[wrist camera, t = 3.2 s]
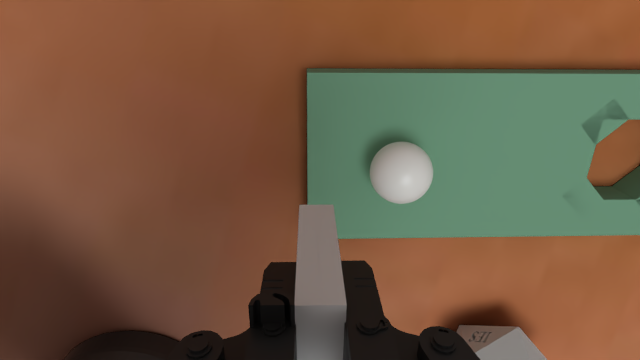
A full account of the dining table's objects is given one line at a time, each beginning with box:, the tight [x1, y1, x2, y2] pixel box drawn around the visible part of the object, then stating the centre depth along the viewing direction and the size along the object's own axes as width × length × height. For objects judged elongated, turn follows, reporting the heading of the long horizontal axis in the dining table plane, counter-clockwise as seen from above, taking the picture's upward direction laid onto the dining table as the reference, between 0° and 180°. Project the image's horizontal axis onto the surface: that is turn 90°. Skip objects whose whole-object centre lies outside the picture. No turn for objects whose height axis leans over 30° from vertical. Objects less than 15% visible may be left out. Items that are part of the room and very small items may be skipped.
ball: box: [370, 142, 433, 204], centre depth 25 cm, size 4×4×4 cm
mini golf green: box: [307, 68, 640, 239], centre depth 23 cm, size 30×12×14 cm, turn 89°
